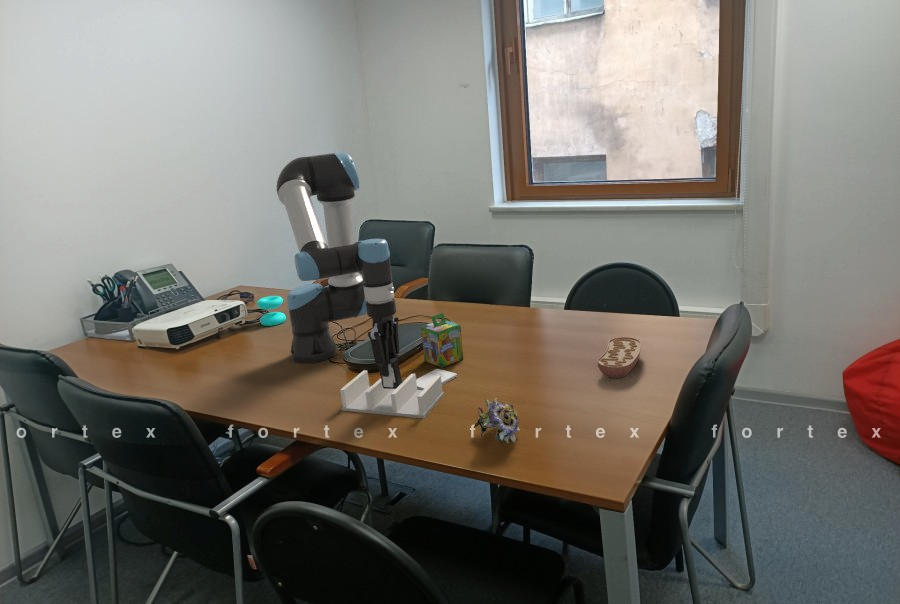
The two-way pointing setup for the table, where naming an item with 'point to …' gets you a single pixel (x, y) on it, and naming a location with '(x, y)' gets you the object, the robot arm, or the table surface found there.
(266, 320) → the donuts
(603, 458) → the table surface
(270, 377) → the table surface
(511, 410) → the passion flower
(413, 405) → the divider rack
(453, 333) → the chalk box
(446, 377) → the external hard drive
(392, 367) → the ink cartridge
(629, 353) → the anatomical model
